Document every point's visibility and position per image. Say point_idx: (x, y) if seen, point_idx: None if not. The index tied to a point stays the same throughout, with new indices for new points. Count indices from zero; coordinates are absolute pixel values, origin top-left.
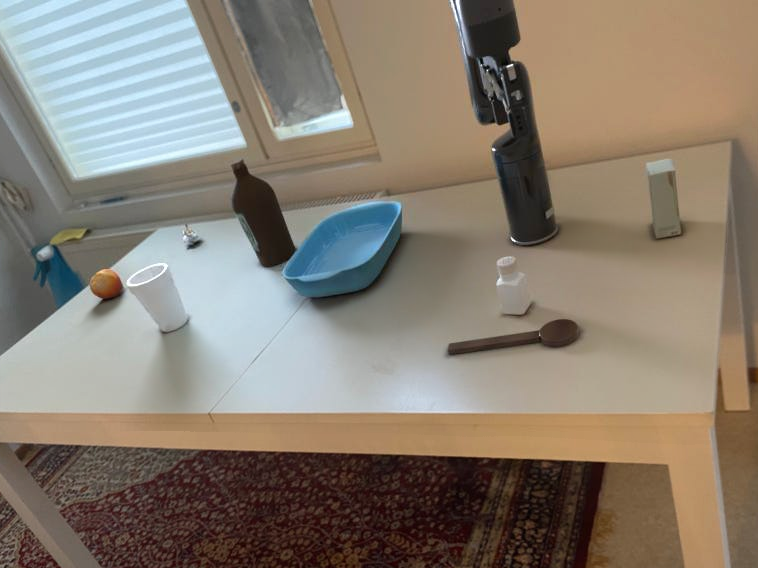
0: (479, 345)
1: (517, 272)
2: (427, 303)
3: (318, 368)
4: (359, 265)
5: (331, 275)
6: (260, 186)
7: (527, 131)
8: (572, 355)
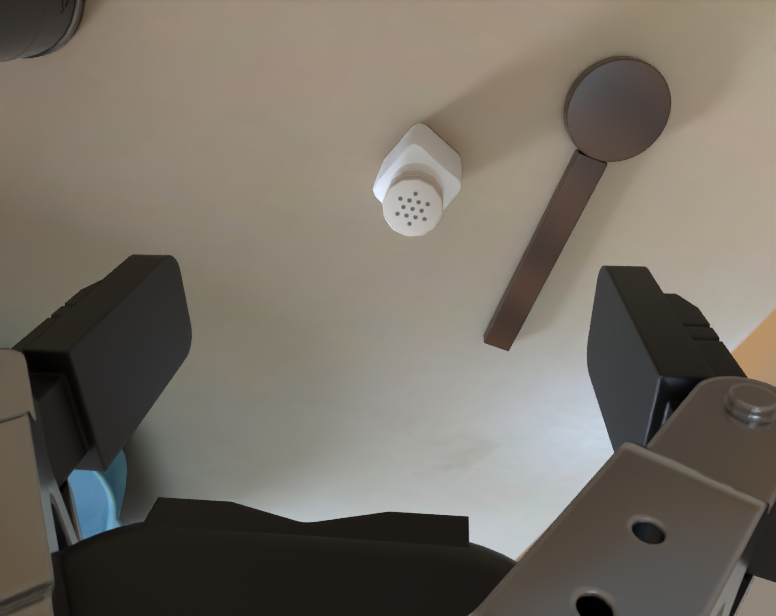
0: (539, 290)
1: (430, 173)
2: (258, 335)
3: None
4: (108, 485)
5: None
6: None
7: (644, 270)
8: (714, 110)
